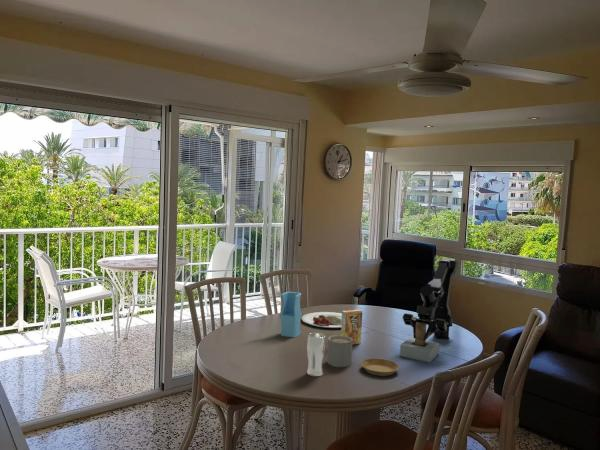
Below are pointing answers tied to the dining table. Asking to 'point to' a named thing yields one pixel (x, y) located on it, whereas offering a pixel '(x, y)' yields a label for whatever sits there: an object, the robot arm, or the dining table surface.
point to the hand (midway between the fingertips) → (419, 338)
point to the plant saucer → (379, 367)
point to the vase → (291, 314)
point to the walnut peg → (420, 334)
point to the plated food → (323, 319)
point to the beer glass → (315, 353)
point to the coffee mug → (339, 351)
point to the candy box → (352, 325)
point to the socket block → (419, 350)
